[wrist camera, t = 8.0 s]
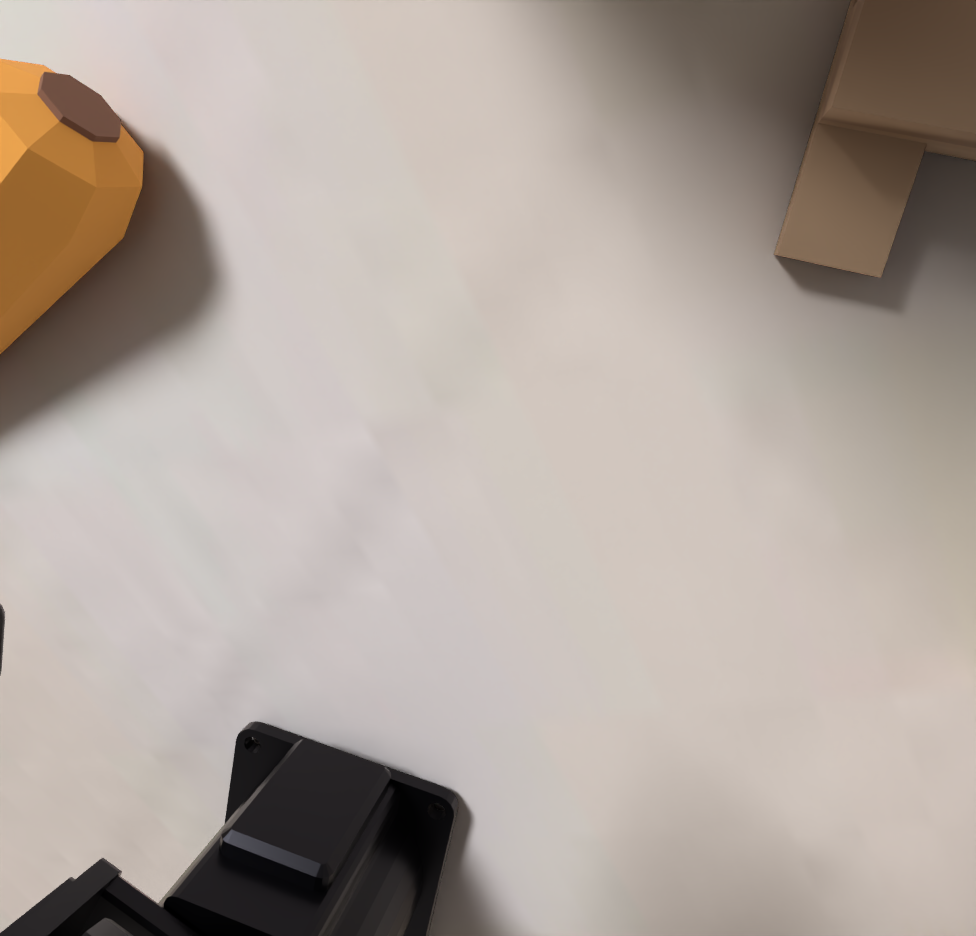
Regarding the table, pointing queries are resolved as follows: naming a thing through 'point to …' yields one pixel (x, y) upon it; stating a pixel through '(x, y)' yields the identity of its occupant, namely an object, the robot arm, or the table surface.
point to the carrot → (57, 188)
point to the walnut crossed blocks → (881, 128)
